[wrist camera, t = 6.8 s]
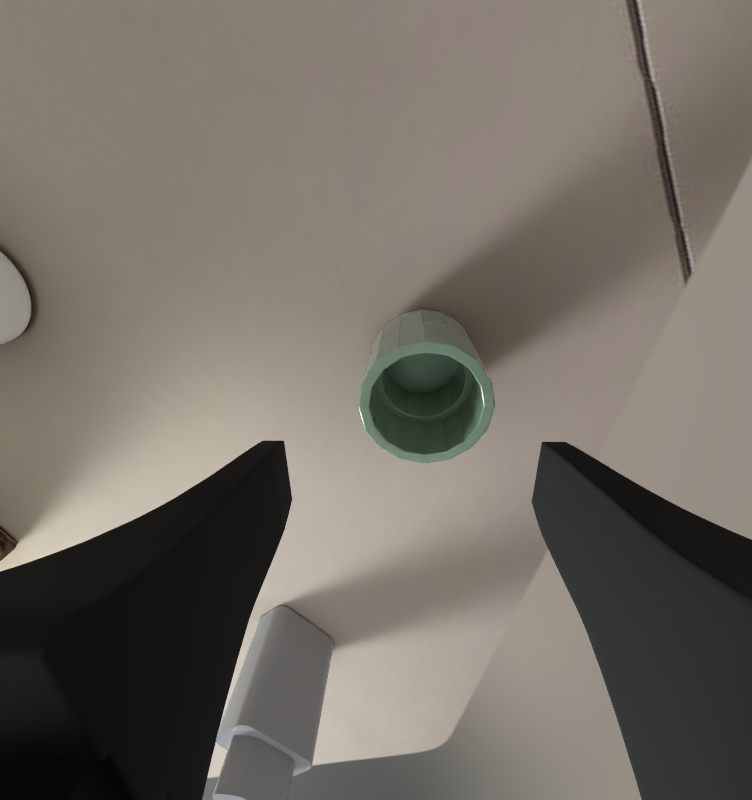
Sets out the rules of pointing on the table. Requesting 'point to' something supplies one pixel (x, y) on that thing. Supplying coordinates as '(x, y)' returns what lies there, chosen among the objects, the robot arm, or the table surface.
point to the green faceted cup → (425, 389)
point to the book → (6, 545)
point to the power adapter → (274, 709)
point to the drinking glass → (12, 301)
